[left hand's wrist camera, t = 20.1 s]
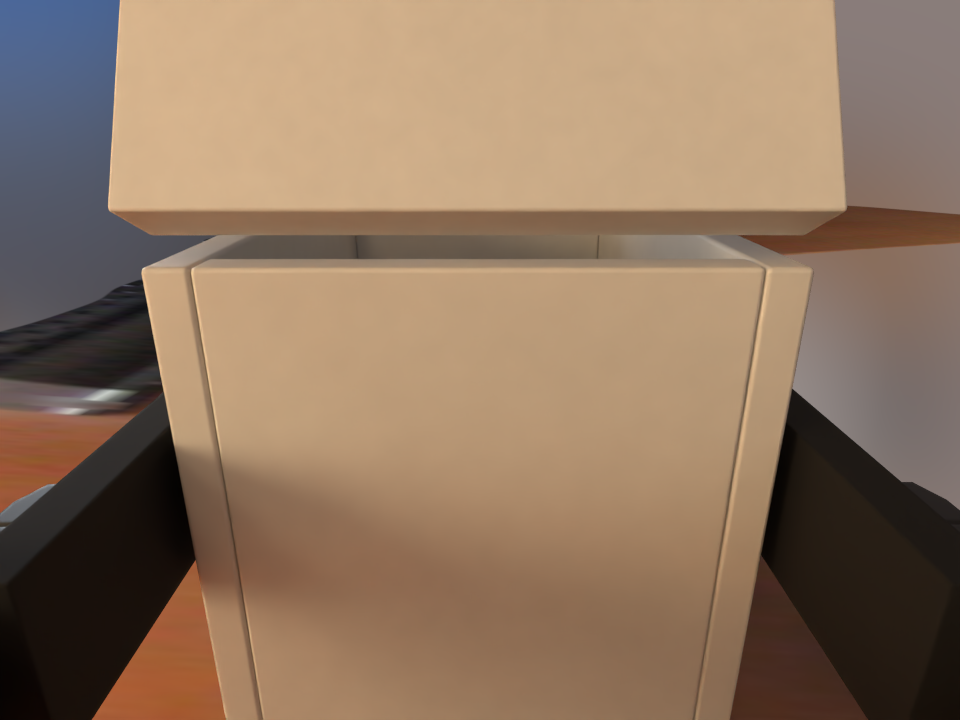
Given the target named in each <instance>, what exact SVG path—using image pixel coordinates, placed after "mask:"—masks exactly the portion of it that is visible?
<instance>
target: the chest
mask: <svg viewBox="0 0 960 720" xmlns="http://www.w3.org/2000/svg"><path fill="white" fill-rule="evenodd" d="M813 275H814V271H813V268H811V267H809V266H806V265H804V264H802V263H799V262H797V261H795V260H792V259H790V258H788V257H786V256H783V255H781V254H779V253H776V252H774V251H772V250H769V249H767V248H765V247H763V246H760V245H758V244H756V243H753V242H751V241H749V240H747V239H744V238H742V237H740V236H737V235H218V236H216V237H214V238H211V239H209V240H207V241H205V242H202V243H200V244H198V245H195V246H193V247H191V248H189V249H186V250H184V251H182V252H179V253H177V254H175V255H173V256H170V257H168V258H166V259H163V260H161V261H159V262H157V263H154V264H152V265H150V266H148V267H145V268H143V270H142V278H143V284H144V289H145V294H146V300H147V305H148V310H149V315H150V321H151V326H152V331H153V336H154V342H155V347H156V352H157V358H158V363H159V368H160V373H161V379H162V384H163V389H164V395H165V400H166V405H167V410H168V416H169V421H170V426H171V432H172V437H173V442H174V447H175V453H176V458H177V463H178V468H179V474H180V479H181V484H182V490H183V495H184V500H185V505H186V511H187V516H188V521H189V527H190V532H191V537H192V542H193V548H194V553H195V558H196V563H197V569H198V574H199V579H200V585H201V590H202V595H203V600H204V606H205V611H206V616H207V622H208V627H209V632H210V637H211V643H212V648H213V653H214V659H215V664H216V669H217V674H218V680H219V685H220V690H221V695H222V701H223V706H224V711H225V717H226V720H730V716H731V711H732V706H733V700H734V695H735V690H736V684H737V679H738V674H739V669H740V663H741V658H742V653H743V647H744V642H745V637H746V631H747V626H748V621H749V615H750V610H751V605H752V599H753V594H754V589H755V583H756V578H757V573H758V568H759V562H760V557H761V552H762V546H763V541H764V536H765V530H766V525H767V520H768V514H769V509H770V504H771V498H772V493H773V488H774V482H775V477H776V472H777V467H778V461H779V456H780V451H781V445H782V440H783V435H784V429H785V424H786V419H787V413H788V408H789V403H790V397H791V392H792V387H793V381H794V376H795V371H796V366H797V360H798V355H799V350H800V344H801V339H802V334H803V328H804V323H805V318H806V312H807V307H808V302H809V296H810V291H811V286H812V280H813Z"/></svg>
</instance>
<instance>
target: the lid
mask: <svg viewBox="0 0 960 720" xmlns="http://www.w3.org/2000/svg"><path fill="white" fill-rule="evenodd" d="M108 208H109V211H110V212H112V213H114V214H116V215H117V216H119V217H121V218H122V219H124V220H126V221H128V222H130V223H131V224H133V225H135V226H136V227H138V228H140V229H142V230H143V231H145V232H147V233H149V234H151V235H805V234H807V233H808V232H810V231H812V230H814V229H815V228H817V227H819V226H821V225H822V224H824V223H826V222H828V221H829V220H831V219H833V218H835V217H836V216H838V215H840V214H841V213H843V212H845V211H846V209H847V196H846V180H845V163H844V147H843V130H842V113H841V97H840V80H839V63H838V47H837V30H836V14H835V0H120V10H119V28H118V45H117V62H116V79H115V97H114V114H113V131H112V148H111V166H110V183H109V200H108Z"/></svg>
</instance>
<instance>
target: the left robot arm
mask: <svg viewBox="0 0 960 720" xmlns="http://www.w3.org/2000/svg"><path fill="white" fill-rule="evenodd" d="M761 555H762V557H763V558H764V560H765V561H766V563H767V564H768V566H769V568H770V569H771V571H772V572H773V574H774V575H775V577H776V578H777V580H778V581H779V583H780V584H781V586H782V588H783V589H784V591H785V592H786V594H787V595H788V597H789V598H790V600H791V601H792V603H793V605H794V606H795V608H796V609H797V611H798V612H799V614H800V615H801V617H802V618H803V620H804V621H805V623H806V625H807V626H808V628H809V629H810V631H811V632H812V634H813V635H814V637H815V638H816V640H817V641H818V643H819V645H820V646H821V648H822V649H823V651H824V652H825V654H826V655H827V657H828V658H829V660H830V661H831V663H832V665H833V666H834V668H835V669H836V671H837V672H838V674H839V675H840V677H841V678H842V680H843V681H844V683H845V685H846V686H847V688H848V689H849V691H850V692H851V694H852V695H853V697H854V698H855V700H856V701H857V703H858V705H859V706H860V708H861V709H862V711H863V712H864V714H865V715H866V717H867V718H868V720H960V510H959V509H957V508H956V507H955V506H954V505H952V504H951V503H950V502H949V501H947V500H946V499H944V498H942V497H940V496H938V495H936V494H934V493H932V492H930V491H928V490H926V489H925V488H923V487H921V486H919V485H917V484H915V483H913V482H901V481H900V480H898V479H897V478H896V477H895V476H894V475H893V474H891V473H890V472H889V471H888V470H887V469H885V468H884V467H883V466H882V465H881V464H880V463H878V462H877V461H876V460H875V459H874V458H873V457H871V456H870V455H869V454H868V453H867V452H866V451H864V450H863V449H862V448H861V447H860V446H859V445H857V444H856V443H855V442H854V441H853V440H852V439H850V438H849V437H848V436H847V435H846V434H845V433H843V432H842V431H841V430H840V429H839V428H838V427H836V426H835V425H834V424H833V423H832V422H830V421H829V420H828V419H827V418H826V417H825V416H824V415H822V414H821V413H820V412H819V411H818V410H817V409H815V408H814V407H813V406H812V405H811V404H809V403H808V402H807V401H806V400H805V399H804V398H802V397H801V396H800V395H799V394H798V393H797V392H795V391H794V390H793V389H792V392H791V397H790V403H789V408H788V413H787V419H786V424H785V429H784V435H783V440H782V445H781V451H780V456H779V461H778V467H777V472H776V477H775V482H774V488H773V493H772V498H771V504H770V509H769V514H768V520H767V525H766V530H765V536H764V541H763V546H762V552H761ZM195 560H196V558H195V553H194V548H193V542H192V537H191V532H190V527H189V521H188V516H187V511H186V505H185V500H184V495H183V490H182V484H181V479H180V474H179V468H178V463H177V458H176V453H175V447H174V442H173V437H172V432H171V426H170V421H169V416H168V410H167V405H166V400H165V395H164V392H163V393H162V394H161V395H160V396H159V397H158V398H156V399H155V400H154V401H153V402H152V403H150V404H149V405H148V406H147V407H146V408H145V409H143V410H142V411H141V412H140V413H139V414H138V415H136V416H135V417H134V418H133V419H132V420H131V421H129V422H128V423H127V424H126V425H125V426H124V427H122V428H121V429H120V430H119V431H118V432H117V433H115V434H114V435H113V436H112V437H111V438H110V439H108V440H107V441H106V442H105V443H104V444H103V445H101V446H100V447H99V448H98V449H97V450H95V451H94V452H93V453H92V454H91V455H90V456H88V457H87V458H86V459H85V460H84V461H83V462H81V463H80V464H79V465H78V466H77V467H76V468H74V469H73V470H72V471H71V472H70V473H69V474H67V475H66V476H65V477H64V478H63V479H62V480H60V481H59V482H58V483H57V484H48V485H46V486H44V487H42V488H40V489H38V490H36V491H35V492H33V493H31V494H29V495H27V496H25V497H23V498H21V499H19V500H17V501H15V502H14V503H12V504H11V505H10V506H9V507H7V508H6V509H5V510H4V511H2V512H1V513H0V720H92V718H93V717H94V715H95V714H96V712H97V711H98V709H99V708H100V706H101V705H102V703H103V701H104V700H105V698H106V697H107V695H108V694H109V692H110V691H111V689H112V688H113V686H114V685H115V683H116V681H117V680H118V678H119V677H120V675H121V674H122V672H123V671H124V669H125V668H126V666H127V665H128V663H129V661H130V660H131V658H132V657H133V655H134V654H135V652H136V651H137V649H138V648H139V646H140V644H141V643H142V641H143V640H144V638H145V637H146V635H147V634H148V632H149V631H150V629H151V628H152V626H153V624H154V623H155V621H156V620H157V618H158V617H159V615H160V614H161V612H162V611H163V609H164V608H165V606H166V604H167V603H168V601H169V600H170V598H171V597H172V595H173V594H174V592H175V591H176V589H177V588H178V586H179V584H180V583H181V581H182V580H183V578H184V577H185V575H186V574H187V572H188V571H189V569H190V568H191V566H192V564H193V563H194V561H195Z"/></svg>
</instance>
